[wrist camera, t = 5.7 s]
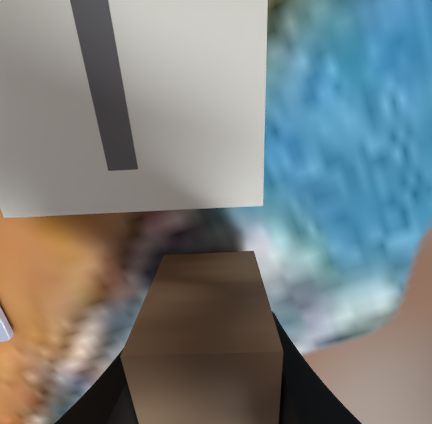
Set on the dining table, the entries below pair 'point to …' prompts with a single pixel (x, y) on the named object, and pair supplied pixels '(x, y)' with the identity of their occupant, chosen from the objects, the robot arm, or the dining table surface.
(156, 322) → the walnut block
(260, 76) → the letter mat
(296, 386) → the robot arm
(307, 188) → the dining table surface
